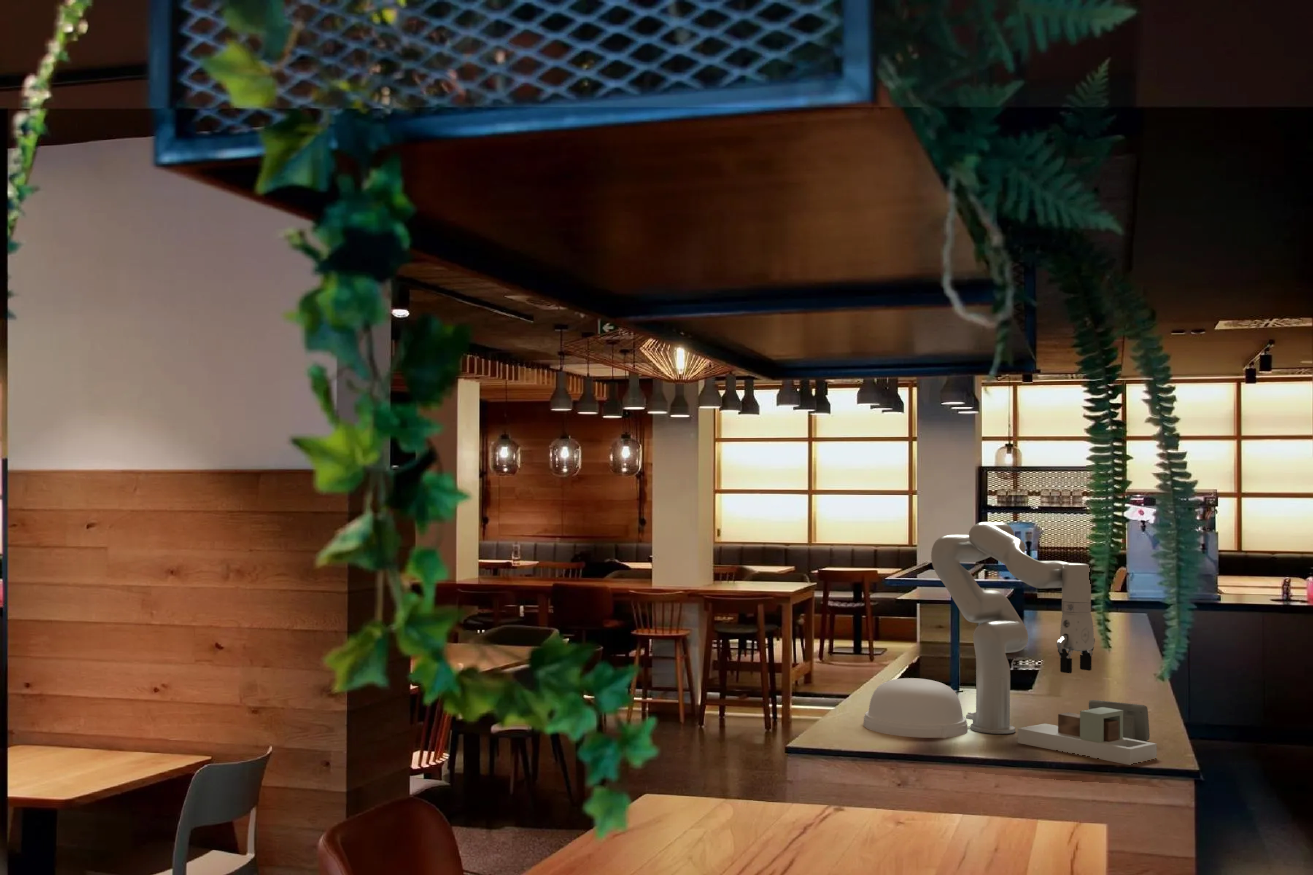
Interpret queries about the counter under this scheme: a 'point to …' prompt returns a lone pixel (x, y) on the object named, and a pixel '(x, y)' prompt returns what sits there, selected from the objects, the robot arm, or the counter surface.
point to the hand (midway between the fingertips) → (1075, 671)
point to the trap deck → (1087, 745)
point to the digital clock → (1129, 718)
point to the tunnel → (1098, 723)
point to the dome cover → (915, 709)
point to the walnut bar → (1071, 726)
